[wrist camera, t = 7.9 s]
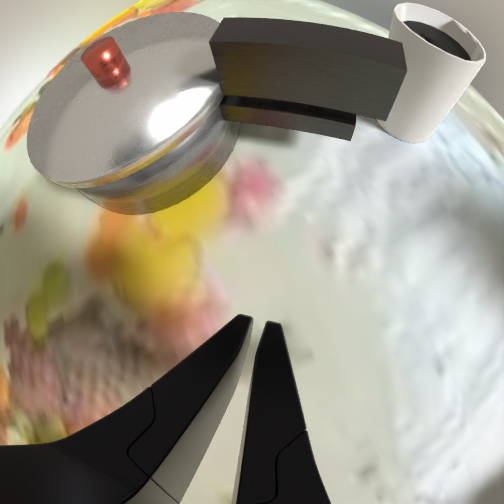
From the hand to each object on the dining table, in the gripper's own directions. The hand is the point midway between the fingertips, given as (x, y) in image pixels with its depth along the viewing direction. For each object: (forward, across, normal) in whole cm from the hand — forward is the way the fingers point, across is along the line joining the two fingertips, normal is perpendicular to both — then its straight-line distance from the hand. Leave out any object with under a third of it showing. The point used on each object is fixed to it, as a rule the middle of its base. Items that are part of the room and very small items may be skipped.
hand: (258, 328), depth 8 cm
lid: (+12, +9, -6) cm, 16 cm away
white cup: (+20, -8, -6) cm, 23 cm away
